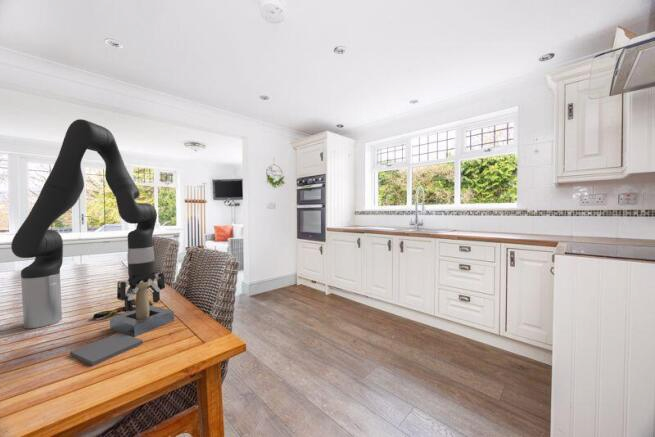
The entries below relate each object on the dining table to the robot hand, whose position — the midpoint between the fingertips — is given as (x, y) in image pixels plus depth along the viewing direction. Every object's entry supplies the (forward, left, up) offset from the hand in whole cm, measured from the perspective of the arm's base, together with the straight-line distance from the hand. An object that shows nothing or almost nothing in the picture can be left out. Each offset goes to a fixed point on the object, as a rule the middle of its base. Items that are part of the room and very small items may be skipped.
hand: (143, 306), depth 90 cm
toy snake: (-19, +4, -7) cm, 21 cm away
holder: (0, 0, -6) cm, 6 cm away
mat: (+8, -14, -6) cm, 17 cm away
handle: (0, 0, -7) cm, 7 cm away
